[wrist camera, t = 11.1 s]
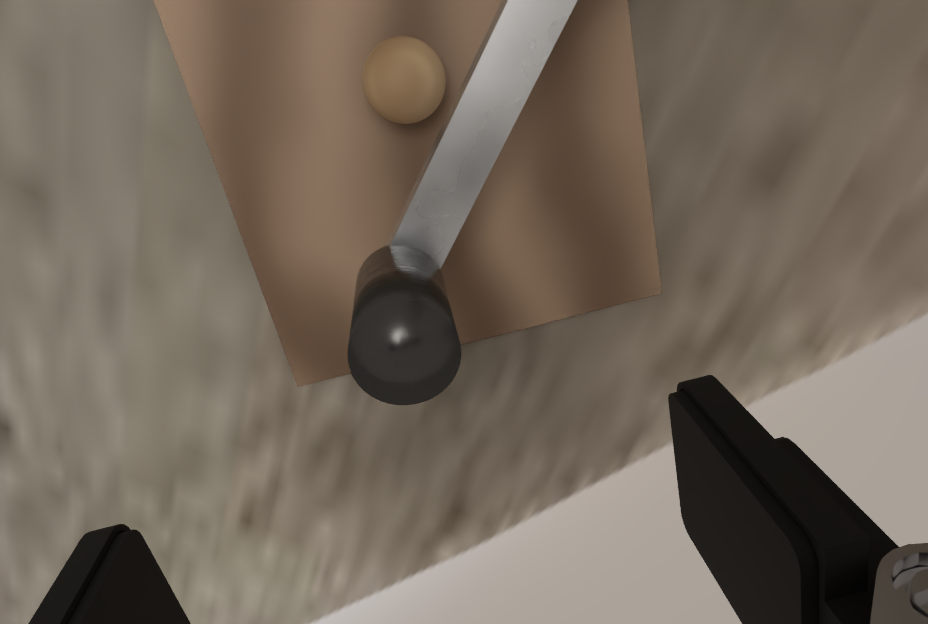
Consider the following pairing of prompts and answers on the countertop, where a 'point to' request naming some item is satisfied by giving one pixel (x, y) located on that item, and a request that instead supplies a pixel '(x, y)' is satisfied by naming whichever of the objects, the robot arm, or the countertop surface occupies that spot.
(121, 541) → the robot arm
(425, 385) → the lever
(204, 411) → the countertop surface
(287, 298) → the press base
